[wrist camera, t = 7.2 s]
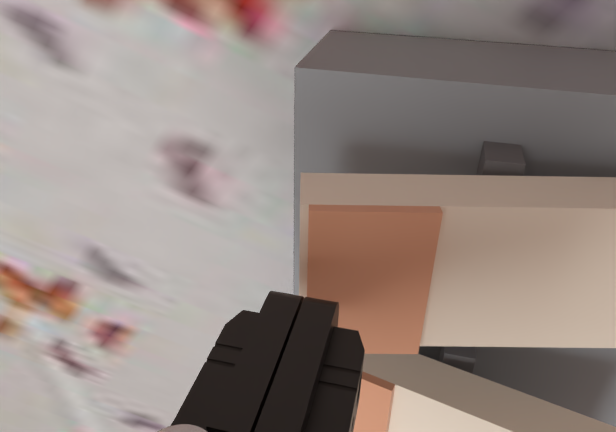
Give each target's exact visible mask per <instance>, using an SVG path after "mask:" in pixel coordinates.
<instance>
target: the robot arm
mask: <svg viewBox="0 0 616 432" xmlns="http://www.w3.org/2000/svg"><path fill="white" fill-rule="evenodd" d="M338 316H339V302H334V301H328V300H322V299H317V298H311V297H305V298H304V297H303V296H298V295H293V294H287V293H281V292H275V291H270V292H269V294H268V296H267V298H266V300H265V302H264V304H263V306H262V308H261V311H260V313H257V312H251V311H246V310H243V311H241V312H240V313H239V314H238V315H236V316H235V317H234V318H233V319H231V320H230V321H229V322H228V323H227V324H225V326H224V328H223V330H222V332H221V334H220V335H219V337H218V339H217V341H216V343H215V347H213V349H212V350H211V352H210V354H209V356H208V358H207V362H205V363H204V365H203V367H202V369H201V371H200V373H199V375H198V377H197V378H196V380H195V382H194V384H193V386H192V388H191V390H190V391H189V393H188V395H187V397H186V399H185V401H184V403H183V405H182V406H181V408H180V410H179V412H178V414H177V416H176V418H175V419H174V421H173V423H172V424H171V426H169V427H166V428H163V429H161V430H159V431H157V432H353V430H354V425H355V420H356V414H357V409H358V404H359V397H360V389H361V380H362V371H363V362H364V353H365V350H364V347H363V343H362V340H361V337H360V334H359V331H357V330H351V329H346V328H340V327H338Z"/></svg>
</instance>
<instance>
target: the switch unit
mask: <svg viewBox="0 0 616 432" xmlns="http://www.w3.org/2000/svg"><path fill="white" fill-rule="evenodd" d="M301 173H358V174H427V175H496V176H565V177H616V51H609V50H595V49H581V48H567V47H553V46H540V45H526V44H512V43H498V42H484V41H471V40H457V39H443V38H429V37H415V36H401V35H388V34H374V33H360V32H346V31H332V30H330V31H329V32H328V33H327V34H326V35H325V36H324V37H323V39H322V40H321V41H320V42H319V43H318V44H317V45H316V46H315V47H314V48H313V49H312V50H311V51H310V52H309V53H308V54H307V55H306V56H305V57H304V58H303V59H302V60H301V61H300V62H299V63H298V64H297V65H296V66H295V97H294V295H298V296H299V247H300V178H301ZM418 354H420V355H423V356H426V357H428V358H431V359H434V360H436V361H439V362H442V363H445V364H447V365H450V366H453V367H455V368H458V369H461V370H463V371H466V372H469V373H472V374H474V375H477V376H480V377H482V378H485V379H488V380H490V381H493V382H496V383H499V384H501V385H504V386H507V387H509V388H512V389H515V390H517V391H520V392H523V393H525V394H528V395H531V396H534V397H536V398H539V399H542V400H544V401H547V402H550V403H552V404H555V405H558V406H561V407H563V408H566V409H569V410H571V411H574V412H577V413H579V414H582V415H585V416H588V417H590V418H593V419H596V420H598V421H601V422H604V423H606V424H609V425H612V426H614V427H616V348H555V347H462V346H419V352H418Z"/></svg>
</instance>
